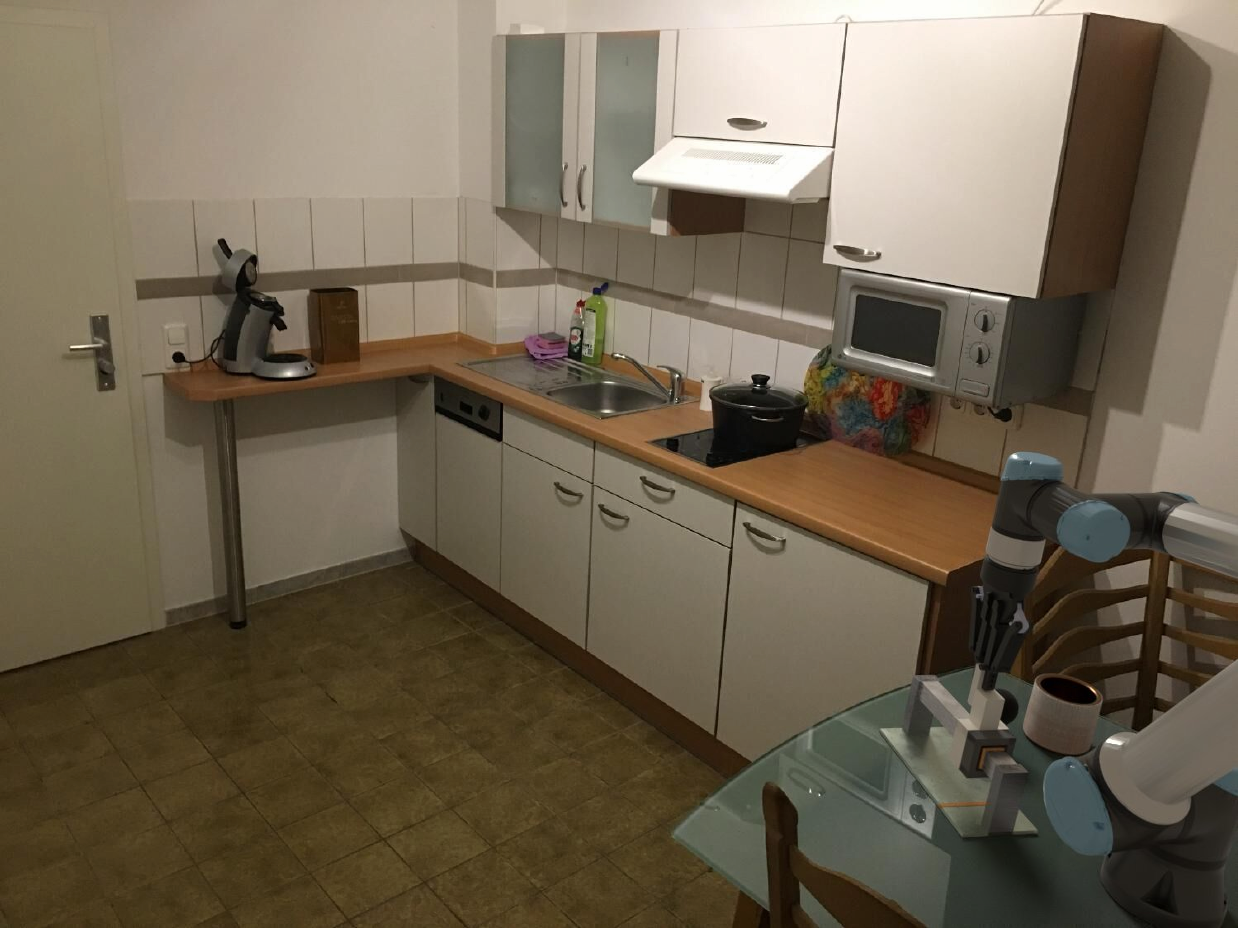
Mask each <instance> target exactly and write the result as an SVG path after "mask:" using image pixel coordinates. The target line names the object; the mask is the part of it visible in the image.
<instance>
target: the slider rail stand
mask: <svg viewBox="0 0 1238 928" xmlns="http://www.w3.org/2000/svg"><path fill="white" fill-rule="evenodd" d="M941 683H942V680H941V679H940V678H939V677H937V676H936V675H935V674H925V675H924V674H923V675H921V674H920V675H917V674H916V675H912V678H911V682H910V688H909V693H908V697H907V701H906V702H907V703H906V706H905V707H906V708H905V710H904V716H903V721H902V724H901V725H902V726H901V727H890V728H889V727H886V728H885V727H884V728H883V727H882V728H879V730H878V731H879V733H880V734H881V736H882V737H883V738H884V741H886V742H887V744H888V745H889V746H890V747H891V749H892V750H893V751H894V752H895V754H896V755H897V756H898V757H899V759H900V760H901V762H902V763H903V764H904V765H905V766H906V767H907V770H908V771H910V773H911V774H912V775H913V776H914V778H915V780H917V782H918V784H920V786H921V788H923V789H924V791H925V792H926V793H927V794H928V796H929V797H930V799H932V801H933V802H934V803H935V805H936V806H937V807H938V809H939V810H940V811H941V812H942V814H943V815H944V816H945V818H946V819H947V820H948V821H949V823H950V824H951V825H952V827H953V828H954V829H955V830H956V832H957V833H958V835H960V836H961V838H979V837H980V838H981V837H996V836H997V837H999V836H1000V837H1001V836H1015V835H1017V836H1019V835H1035V834H1036V835H1037V834H1038V829H1037V828H1036V827H1035V826H1034V824H1033V823H1032V822H1031V821H1030V819H1028V817H1027V816H1026V815H1025V814H1024V813H1023V812H1022V811H1021V809H1020V807H1021V803H1022V798H1023V795H1024V791H1025V787H1026V783H1027V780H1028V775H1029V771H1028V770H1027V769H1026V768H1025V767H1024V766H1023V765H1022V764H1021V763H1017V762H1016V761H1015V760H1014V759H1013V757H1012V758H1011V757H1010V756H1009V755H1008V754H1007V753H1006V752H1005V751H1004V750H1005V747H1004V746H1003V745H987V746H981V749H980V754H979V758H978V762H977V766H976V767H977V768H978V769H982V770H983V771H984V772H985V773H986V774H987V775H988V777H989V778H966V777H965V776H964V775H963V773H962V772H961V771H960V770H958V769H957V768H956V767H955V766H954V764H953V763H952V762H951V761H950V760H949V759H948V758H949V753H950V749H951V745H952V740H953V736H954V732H955V727H956V723H957V719H969V716H970V713H969V712H968V711H967V710H966V709H965V708H964V706H963V705H962V704H961V703H960V702H959V701H958V700H956V698H955V697H954V696H953V695H952V694H951V693H950V692H949V690H947V689H946V688H945V686H943V685H942V684H941ZM934 718H935V719H936V720H937V721H938V722H939V723H940V724H941V725H942V726H932V723H933V719H934Z"/></svg>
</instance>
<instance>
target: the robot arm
mask: <svg viewBox="0 0 1238 928" xmlns="http://www.w3.org/2000/svg"><path fill="white" fill-rule="evenodd" d="M1064 469H1065V468H1064V465H1063V463H1061V460H1059V459H1057V458H1055V457H1052V456H1051V455H1046V454H1042V453H1037V452H1031V451H1030V452H1029V451H1018V452H1015V453H1012V454H1010V455H1009V456H1008V458H1007V459H1006V463H1005V466H1004V469H1003V472H1002V476H1001V477H1000V483H999V484H1000V485H999V490H998V494H997V498H996V505H995V508H994V512H993V519H992V522H991V525H990V530H989V533H988V538H987V542H986V546H985V555H984V556H983V559H982V560H983V561H982V565H981V570H980V574H979V577H980V579H981V581H982V585H981V586H979V585H975V586H974V585H973V586H971V587H970V595H971V612H970V625H969V626H970V627H969V636H968V637H969V639H968V650H969V652H970V653H973V654H974V655H973V659H974V662H975V664H974V667H973V672H972V681H971V685H970V690H969V695H968V697H967V698H968V699H967V703H968V705H970V706H971V707H972V703H973V699H974V695H975V691H976V689H984V690H985V691H990V690H994V689H996V684H997V680H998V676H999V673H1001V674H1002V673H1007V674H1009V673H1010V672H1011V670H1012V668H1013V666H1014V663H1015V661H1016V659H1017V657H1018V655H1019V652H1020V650H1021V648H1022V645H1023V643H1024V642H1025V639H1026V637H1027V636H1028V635H1029V633H1030V632H1031V631H1032V630H1033V629H1034V625H1035V624H1034V622H1033V621H1032V620H1027V618H1026V615H1025V610H1026V608H1027V607H1026V597H1027V596H1028V595H1029V594H1030V593H1032V592H1033V591H1034V590H1035V588H1036V585H1037V584H1036V583H1037V580H1038V576H1039V571H1040V568H1039V566H1038V565H1040V564H1041V562H1042V558H1043V554H1044V551H1045V544H1046V541H1047V539H1048V540H1051V542H1054V543H1055V544H1056V545H1058V546H1061V547H1062V548H1064V549H1065V550H1066V551H1068V552H1069V553H1070V554H1073V555H1074V556H1076V557H1079V558H1083V559H1085V560H1087V561H1089V562H1093V563H1104V562H1107V561H1109V560H1110V559H1112V558H1113V557H1117V556H1118V555H1120V554H1121V552H1122V551H1123V550H1142V549H1143V550H1144V549H1145V550H1150V551H1155V552H1158V553H1162V554H1164V555H1166V556H1169V557H1173V558H1176V559H1180V560H1182V561H1186V562H1189V563H1191V564H1194V565H1197V566H1199V567H1202V568H1205V569H1208V570H1212V571H1214V572H1217V573H1219V574H1222V575H1226V576H1229V577H1232V578H1235V579H1237V580H1238V514H1236V513H1231V512H1228V511H1224V510H1221V509H1217V508H1213V507H1210V506H1206V505H1202V504H1200V503H1199V502H1197V501H1196V500H1195V498H1194V497H1192V496H1191V495H1188V494H1185V493H1181V492H1179V493H1177V492H1172V491H1171V492H1170V491H1166V490H1165V491H1164V490H1163V491H1156V492H1129V493H1127V492H1124V493H1123V492H1114V493H1113V492H1109V493H1108V492H1107V493H1106V492H1104V493H1103V492H1102V493H1101V492H1100V493H1099V492H1098V493H1097V492H1096V493H1089V492H1083V491H1082V490H1081V491H1080V490H1078V489H1076V488H1075V487H1072V486H1070V485H1069V484H1067V483H1065V482H1062V481H1063V479H1064V475H1063V473H1064ZM1042 783H1043V784H1042V789H1043V801H1044V802H1043V803H1044V806H1045V811H1046V814H1047V816H1048V818H1049V822H1050V824H1051V825H1052V827H1053V829H1054V831H1055V832H1056V834H1057V836H1058V837H1059V839H1061V841H1062V842H1063V843H1064V844H1065V845H1067V846H1068V847H1069V848H1071V849H1072V850H1073V851H1075V853H1077V854H1079V855H1083V856H1084V855H1085V856H1102V857H1103V856H1104V858H1103V861H1102V864H1101V867H1100V868H1101V869H1100V872H1099V873H1100V874H1099V875H1100V880H1101V883H1102V885H1103V887H1104V889H1105V891H1106V892H1107V893H1108V895H1109V896H1110V897H1111V898H1112V899H1113V900H1114V901H1115V902H1116V903H1117V904H1118V905H1120V906H1121V907H1122V908H1123V909H1125V911H1127V912H1128V913H1130V914H1131V915H1132V916H1135V917H1136V918H1138V919H1139V920H1142V921H1144V922H1145V923H1147V924H1149V925H1152V926H1154V927H1156V928H1221V927H1222V926H1223V924H1224V919H1226V918H1225V917H1226V915H1227V911H1228V905H1229V904H1228V897H1227V894H1226V893H1227V892H1226V890H1227V886H1226V885H1227V881H1226V869H1225V868H1226V867H1225V866H1226V864H1227V861H1228V857H1229V855H1230V852H1231V849H1232V846H1233V843H1234V841H1235V838H1236V834H1237V831H1238V658H1237V659H1236V660H1235V661H1233V662H1232V663H1230V664H1229V665H1228V666H1226V667H1225V668H1223V669H1222V670H1221V671H1219V672H1218V673H1217V674H1215V676H1213V677H1211V678H1210V679H1209V680H1208V681H1206V682H1205V683H1203V684H1202V685H1200V686H1199V687H1198V688H1197V689H1195V690H1194V691H1193V692H1191V693H1190V694H1189V695H1187V696H1186V697H1185V698H1183V699H1182V700H1180V701H1179V702H1178V703H1177V704H1175V705H1174V706H1172V707H1171V708H1170V709H1169V710H1167V711H1166V712H1165V713H1163V714H1161V716H1158V718H1156V719H1155V720H1153V722H1151V723H1149V725H1147V726H1146V727H1144V728H1143V729H1141V730H1140V731H1139V732H1137V733H1135V732H1128V731H1127V732H1126V731H1122V732H1118V733H1115V734H1113V735H1111V736H1109V737H1108V738H1106V739H1105V740H1104V741H1102V742H1100V744H1098V745H1097V746H1096V747H1094V748H1093V749H1091V750H1090V751H1089V752H1086V753H1084V754H1083V755H1079V756H1072V755H1068V756H1064V757H1062V758H1061V759H1057V760H1054V761H1053V762H1051V764H1049V766H1048V767H1047V769H1046V772H1045V774H1044V777H1043V782H1042Z"/></svg>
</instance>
